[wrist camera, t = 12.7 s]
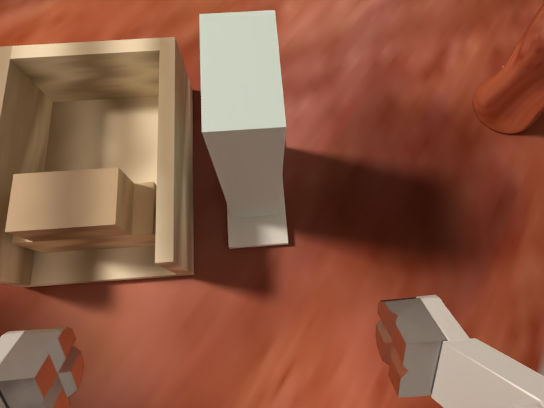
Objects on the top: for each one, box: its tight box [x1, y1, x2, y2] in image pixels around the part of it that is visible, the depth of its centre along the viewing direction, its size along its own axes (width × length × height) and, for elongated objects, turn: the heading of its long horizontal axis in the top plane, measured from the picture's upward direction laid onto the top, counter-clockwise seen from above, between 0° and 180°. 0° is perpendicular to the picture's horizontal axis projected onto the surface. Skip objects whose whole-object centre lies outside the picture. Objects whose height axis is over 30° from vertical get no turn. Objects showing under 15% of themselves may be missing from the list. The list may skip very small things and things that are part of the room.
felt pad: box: [227, 177, 288, 249], centre depth 33 cm, size 5×12×1 cm, turn 4°
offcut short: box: [5, 167, 134, 242], centre depth 26 cm, size 7×4×3 cm, turn 94°
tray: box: [0, 37, 194, 287], centre depth 30 cm, size 14×18×7 cm
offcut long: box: [12, 182, 157, 253], centre depth 29 cm, size 10×4×4 cm, turn 94°
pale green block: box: [199, 10, 286, 218], centre depth 26 cm, size 4×7×15 cm, turn 4°
